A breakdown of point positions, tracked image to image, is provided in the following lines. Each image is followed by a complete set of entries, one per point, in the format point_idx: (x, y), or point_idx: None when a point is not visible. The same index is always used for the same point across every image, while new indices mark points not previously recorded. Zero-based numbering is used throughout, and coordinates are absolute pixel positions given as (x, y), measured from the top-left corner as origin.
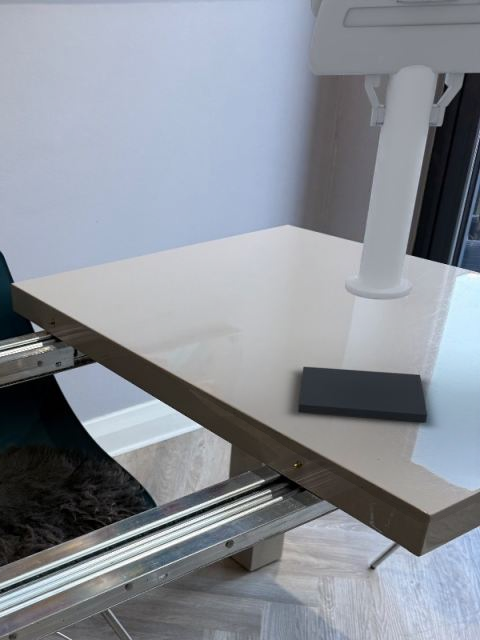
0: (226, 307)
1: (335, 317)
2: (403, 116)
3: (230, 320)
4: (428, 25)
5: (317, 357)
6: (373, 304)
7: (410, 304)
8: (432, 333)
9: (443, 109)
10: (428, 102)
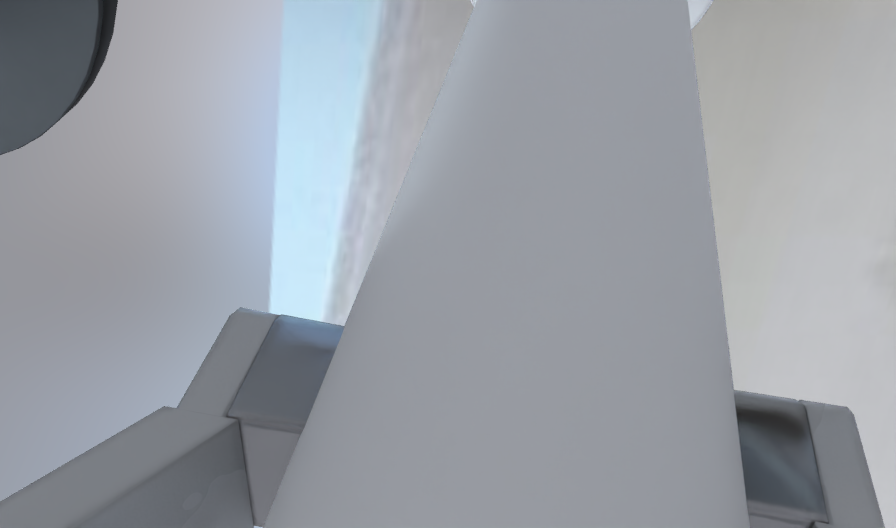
0: (869, 407)
1: None
2: (595, 316)
3: (882, 333)
4: None
5: None
6: None
7: None
8: (360, 245)
9: (201, 387)
10: (330, 427)
